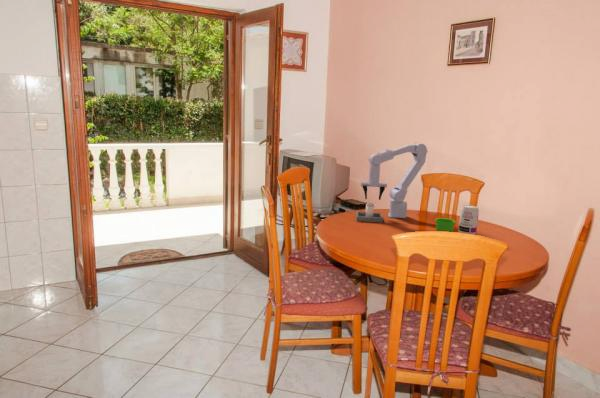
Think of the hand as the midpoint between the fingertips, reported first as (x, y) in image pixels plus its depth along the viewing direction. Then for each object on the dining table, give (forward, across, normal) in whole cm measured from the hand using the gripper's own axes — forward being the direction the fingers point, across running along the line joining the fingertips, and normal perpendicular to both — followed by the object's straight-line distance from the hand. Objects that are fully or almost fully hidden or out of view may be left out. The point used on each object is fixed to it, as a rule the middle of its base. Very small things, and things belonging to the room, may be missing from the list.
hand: (372, 199), depth 242 cm
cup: (+10, +29, -47) cm, 56 cm away
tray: (+10, -2, -8) cm, 13 cm away
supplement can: (+10, +44, -32) cm, 55 cm away
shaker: (+9, -2, -8) cm, 13 cm away
